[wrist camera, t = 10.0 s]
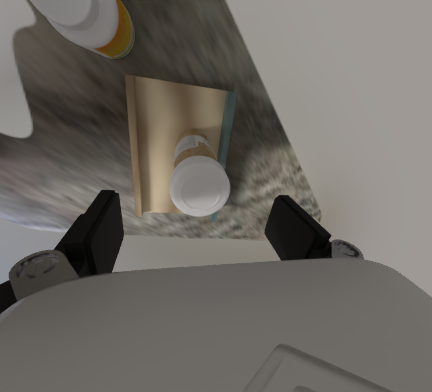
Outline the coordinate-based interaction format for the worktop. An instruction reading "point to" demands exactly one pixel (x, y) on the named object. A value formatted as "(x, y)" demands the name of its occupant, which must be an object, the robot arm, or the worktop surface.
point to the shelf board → (171, 133)
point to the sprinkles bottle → (197, 176)
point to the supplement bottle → (92, 24)
